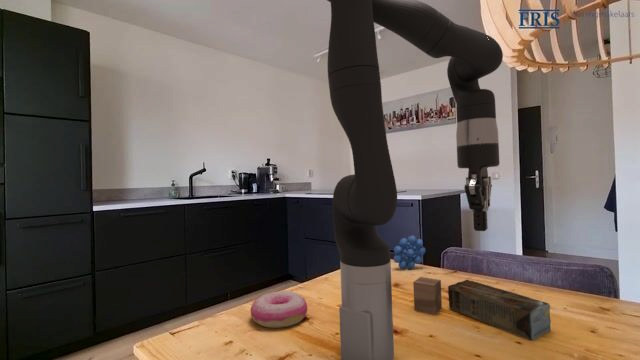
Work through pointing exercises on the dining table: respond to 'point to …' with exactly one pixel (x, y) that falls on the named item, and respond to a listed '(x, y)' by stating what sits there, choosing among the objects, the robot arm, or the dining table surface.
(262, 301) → the donut
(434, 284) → the walnut block
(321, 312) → the dining table surface
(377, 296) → the robot arm
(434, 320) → the dining table surface
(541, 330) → the beverage carton
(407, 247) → the grapes
